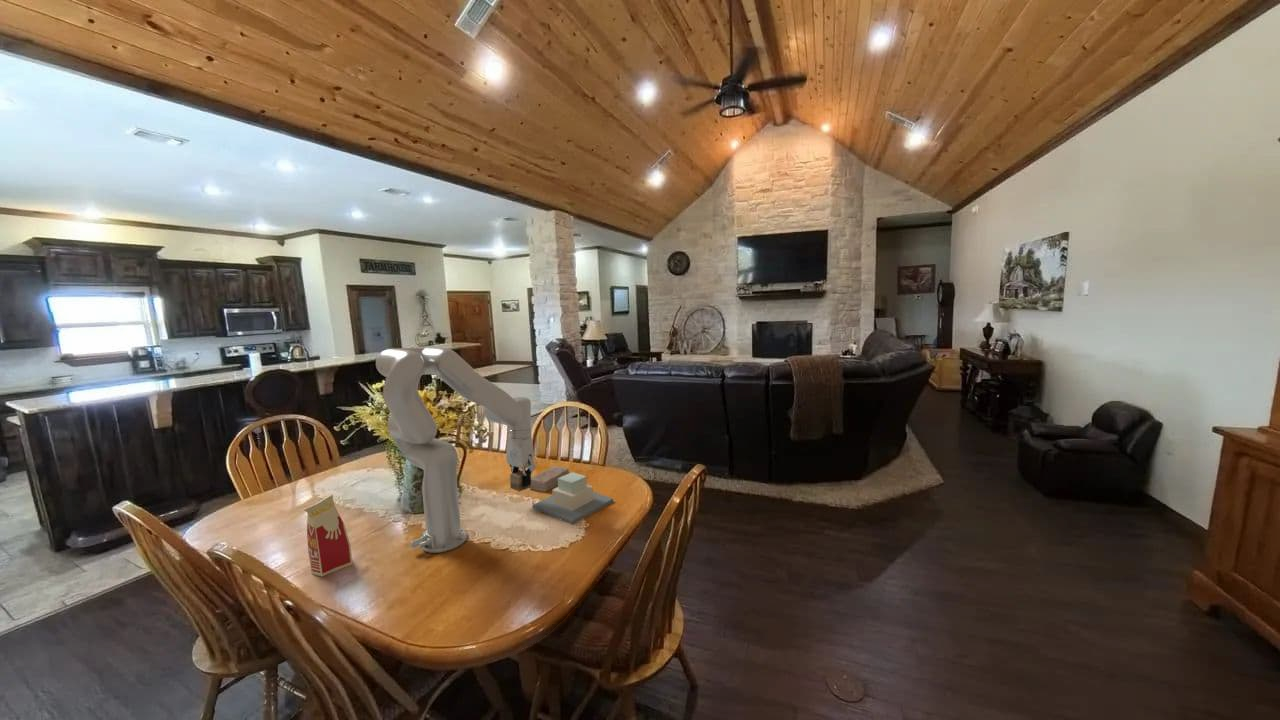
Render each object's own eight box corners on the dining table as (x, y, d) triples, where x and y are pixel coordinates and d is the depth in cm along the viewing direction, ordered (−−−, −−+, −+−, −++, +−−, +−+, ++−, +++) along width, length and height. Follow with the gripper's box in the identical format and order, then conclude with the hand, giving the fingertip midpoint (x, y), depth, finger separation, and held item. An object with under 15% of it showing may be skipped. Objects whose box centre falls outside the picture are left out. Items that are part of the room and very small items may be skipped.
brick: (553, 475, 187) (553, 464, 187) (570, 478, 184) (569, 467, 183) (527, 490, 172) (526, 478, 172) (545, 494, 169) (544, 482, 168)
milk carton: (342, 552, 131) (335, 487, 129) (354, 563, 125) (346, 495, 123) (305, 567, 124) (296, 498, 122) (315, 579, 118) (306, 508, 116)
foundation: (572, 524, 144) (571, 506, 144) (532, 508, 157) (531, 491, 156) (613, 501, 160) (612, 485, 159) (574, 488, 172) (573, 473, 171)
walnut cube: (519, 491, 154) (519, 477, 153) (510, 488, 157) (510, 474, 156) (531, 487, 158) (530, 473, 157) (522, 483, 161) (521, 470, 160)
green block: (572, 494, 153) (571, 482, 152) (558, 489, 157) (557, 478, 156) (586, 487, 158) (586, 476, 158) (572, 482, 162) (572, 472, 162)
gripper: (496, 431, 158) (497, 481, 159) (526, 439, 147) (528, 493, 149) (514, 427, 164) (515, 475, 165) (544, 434, 153) (545, 486, 155)
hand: (521, 483), depth 157 cm, fingers closed on walnut cube, 4 cm apart
